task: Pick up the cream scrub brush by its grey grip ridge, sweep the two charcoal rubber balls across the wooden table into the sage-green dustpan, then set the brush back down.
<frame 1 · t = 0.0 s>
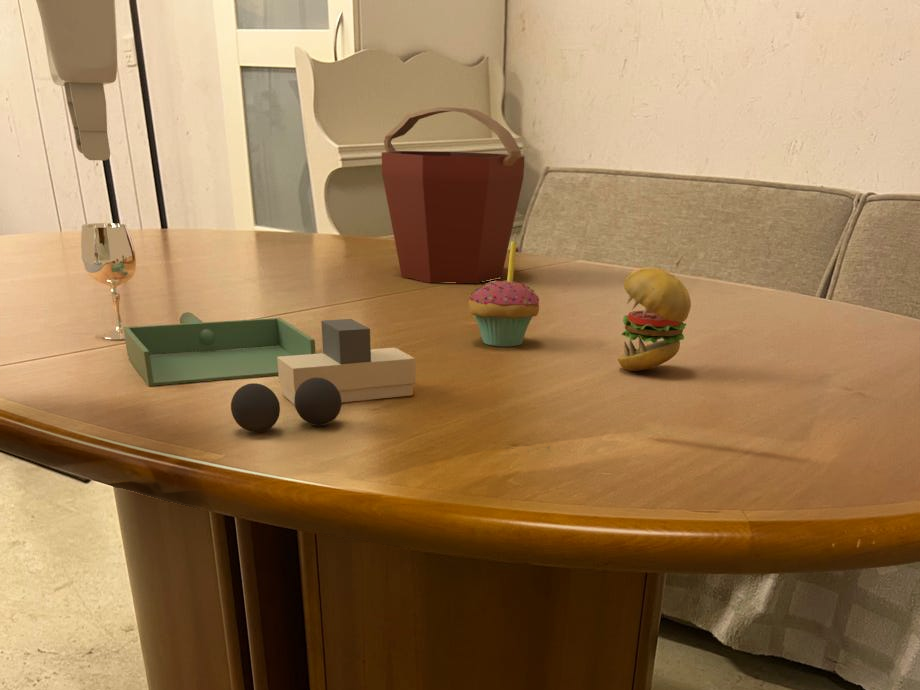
hand: (93, 157, 69), 20 cm above the table, tool pointing down, fingers open, 8 cm apart
cupcake: (503, 344, 112), on the table
hamburger: (647, 373, 101), on the table
ball b: (318, 401, 80), point 2 cm above the table
wineglass: (121, 337, 109), on the table
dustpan: (221, 365, 98), on the table
ball a: (255, 408, 77), point 2 cm above the table
bucket: (452, 277, 158), on the table
brush: (348, 395, 89), on the table
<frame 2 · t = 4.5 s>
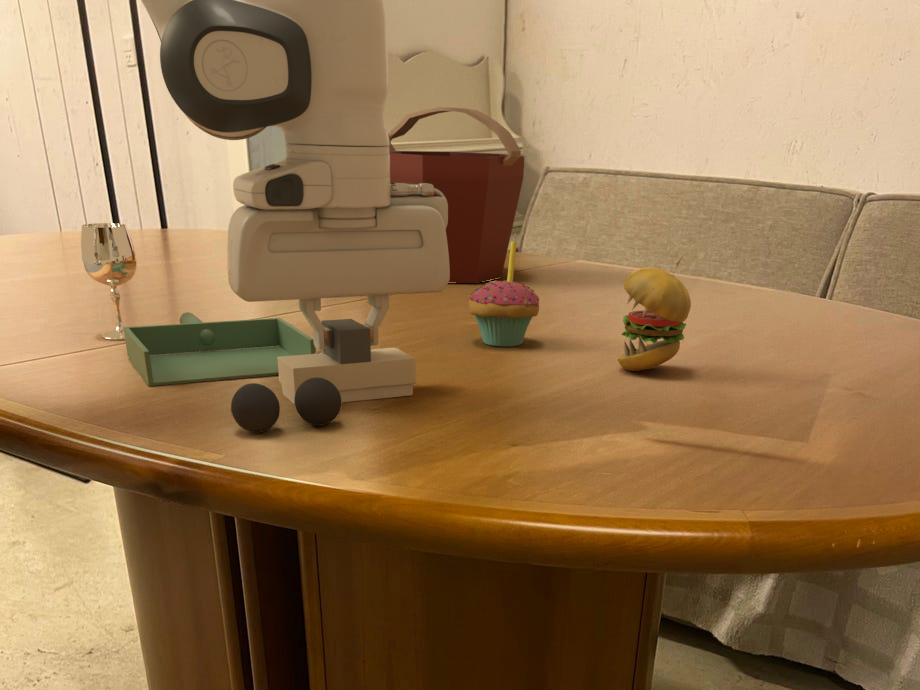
hand: (346, 346, 87), 5 cm above the table, tool pointing down, fingers closed on brush, 3 cm apart
brush: (348, 395, 89), on the table, touching gripper
everything else where it was.
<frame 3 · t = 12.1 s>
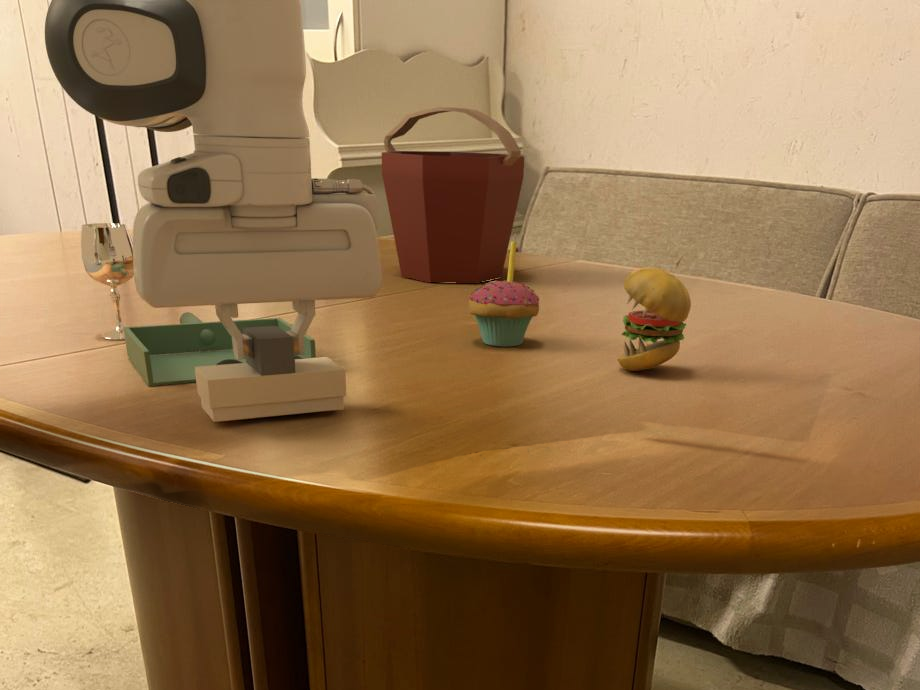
hand: (269, 356, 80), 5 cm above the table, tool pointing down, fingers closed on brush, 3 cm apart
ball b: (292, 377, 87), point 2 cm above the table, tilted 103°
ball a: (231, 381, 85), point 2 cm above the table, tilted 95°
brush: (273, 408, 82), point 1 cm above the table, touching gripper
everything else where it was.
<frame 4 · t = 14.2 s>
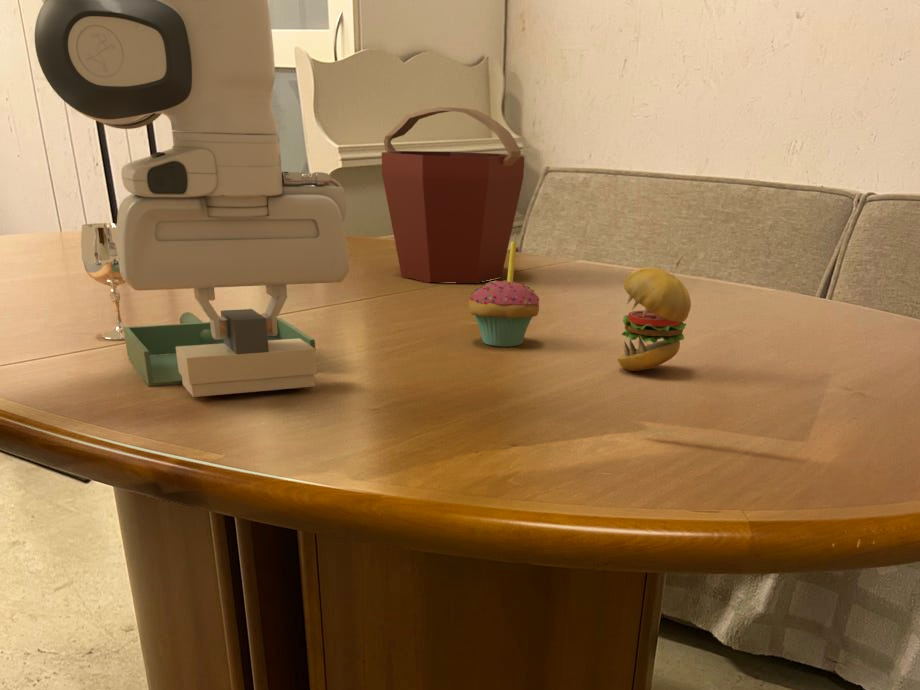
hand: (244, 336, 87), 5 cm above the table, tool pointing down, fingers closed on brush, 3 cm apart
ball b: (273, 358, 93), point 2 cm above the table, tilted 129°
ball a: (214, 362, 91), point 2 cm above the table, tilted 129°
brush: (249, 386, 89), point 1 cm above the table, touching gripper
everything else where it was.
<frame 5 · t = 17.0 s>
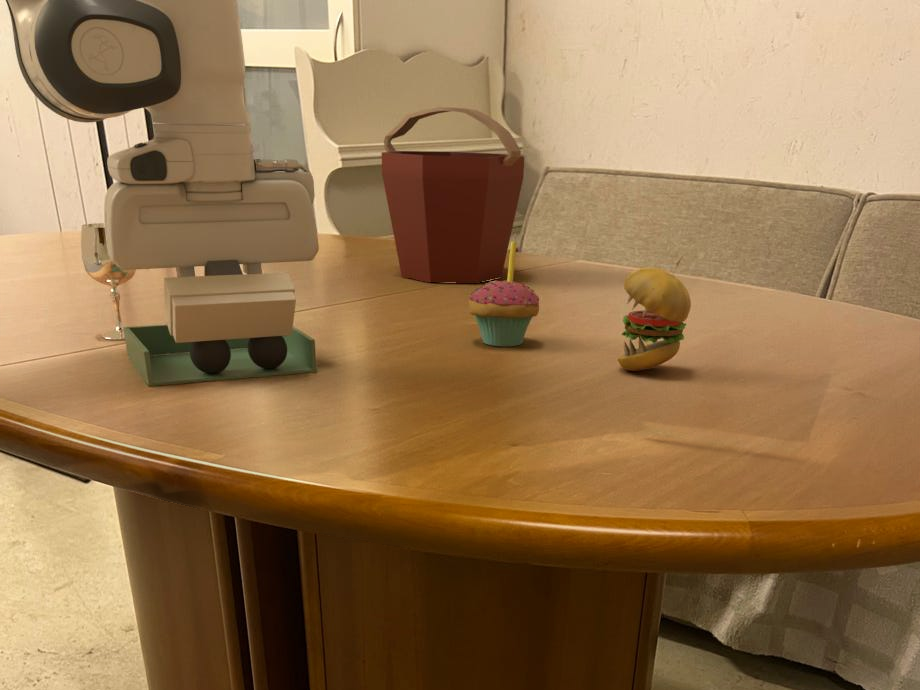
hand: (223, 312, 94), 6 cm above the table, tool pointing down, fingers closed on brush, 3 cm apart
ball b: (267, 349, 95), point 2 cm above the table, tilted 144°, touching brush, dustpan
ball a: (210, 353, 93), point 2 cm above the table, tilted 142°, touching brush, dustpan
brush: (236, 321, 90), point 6 cm above the table, tilted 58°, touching ball a, ball b, gripper
everything else where it was.
when the fingers open (2 cm above the table, at t = 24.6 s): brush stays where it is and tips over, point 2 cm above the table.
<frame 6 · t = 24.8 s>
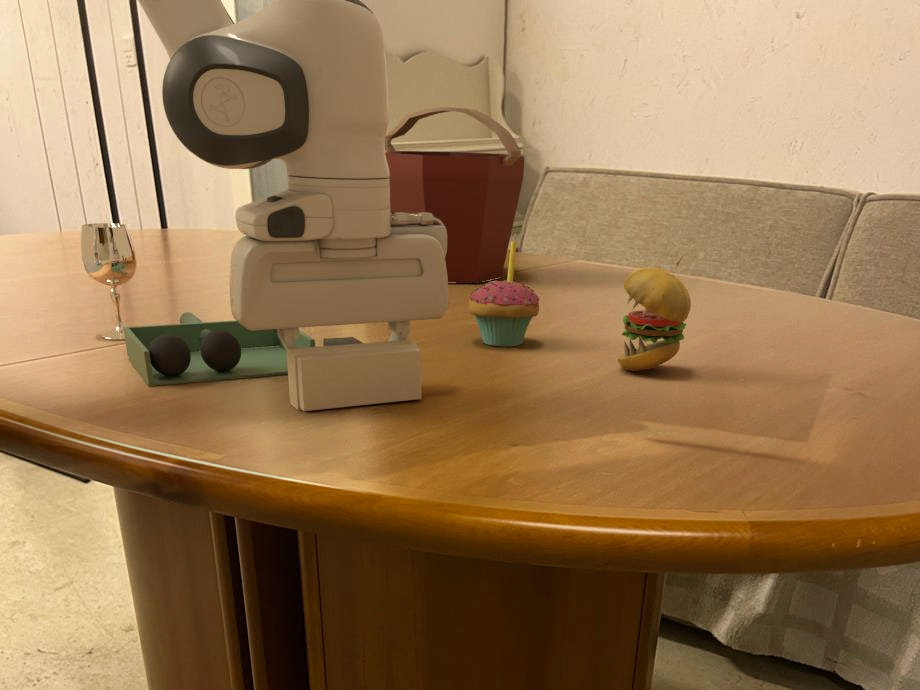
hand: (346, 372, 88), 2 cm above the table, tool pointing down, fingers open, 7 cm apart
ball b: (220, 351, 94), point 2 cm above the table, tilted 51°, touching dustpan
ball a: (169, 355, 92), point 2 cm above the table, tilted 73°, touching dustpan
brush: (363, 380, 84), point 2 cm above the table, tilted 90°
everything else where it was.
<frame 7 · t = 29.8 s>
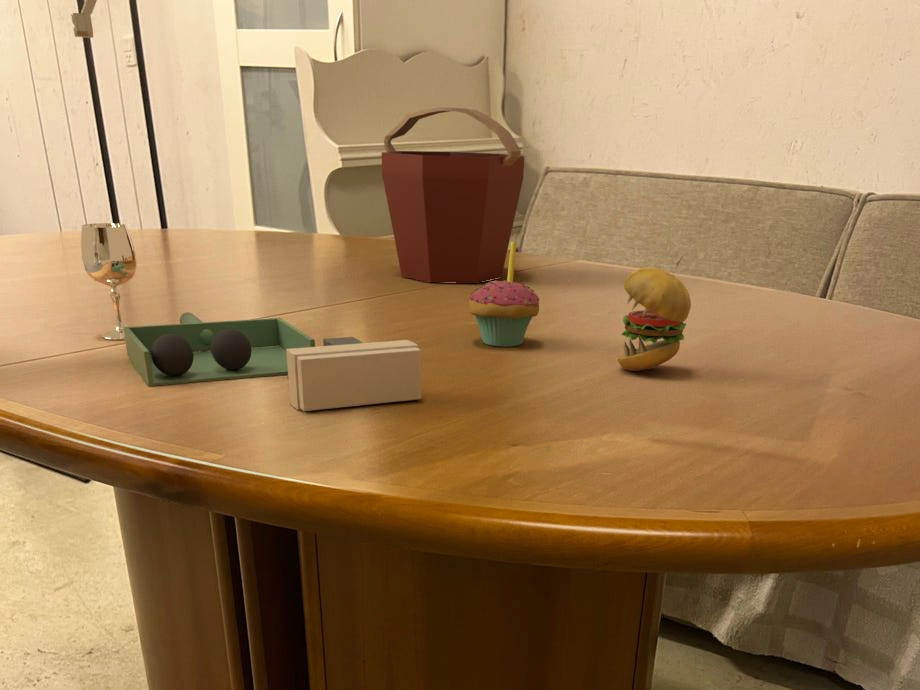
hand: (28, 34, 83), 29 cm above the table, tool pointing down, fingers open, 8 cm apart
ball b: (231, 349, 95), point 2 cm above the table, tilted 75°, touching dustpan
ball a: (172, 355, 92), point 2 cm above the table, tilted 79°, touching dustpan
everything else where it was.
at the end: ball a 6.7 cm from the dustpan (horizontally); ball b 3.3 cm from the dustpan (horizontally); the gripper is holding nothing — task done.
